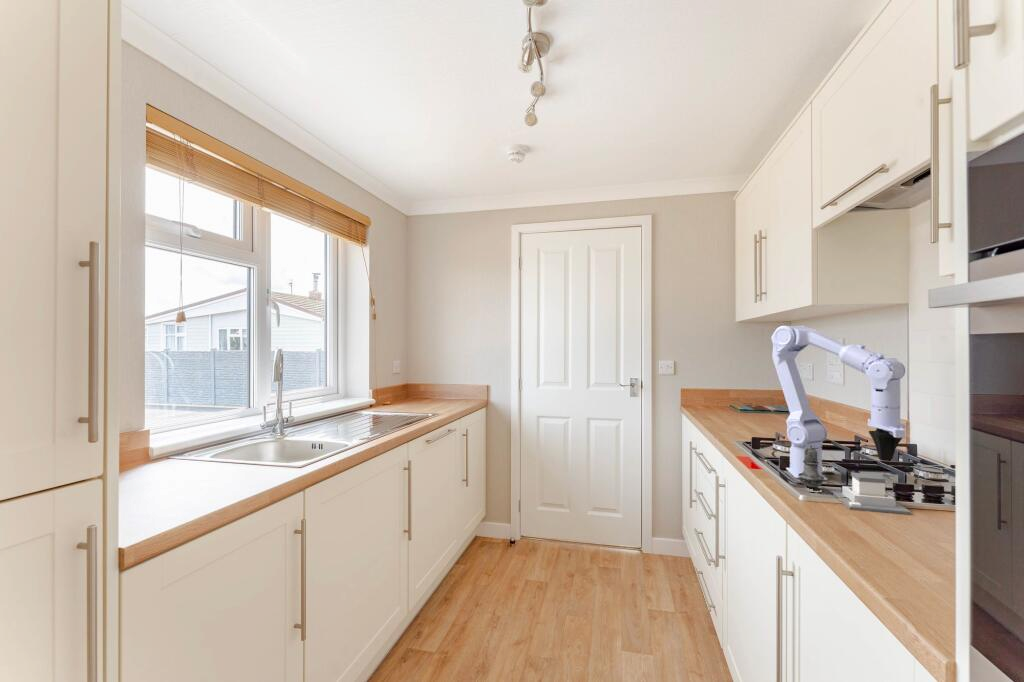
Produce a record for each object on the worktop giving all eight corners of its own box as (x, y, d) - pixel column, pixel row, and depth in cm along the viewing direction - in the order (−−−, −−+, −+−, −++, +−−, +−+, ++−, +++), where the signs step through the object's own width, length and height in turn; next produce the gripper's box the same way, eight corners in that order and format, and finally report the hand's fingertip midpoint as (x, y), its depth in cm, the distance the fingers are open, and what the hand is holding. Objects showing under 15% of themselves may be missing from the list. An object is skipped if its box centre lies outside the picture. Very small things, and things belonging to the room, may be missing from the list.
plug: (852, 496, 113) (852, 472, 113) (876, 498, 112) (876, 474, 112) (859, 502, 110) (859, 477, 109) (885, 504, 108) (885, 479, 108)
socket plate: (829, 492, 118) (829, 482, 118) (884, 496, 115) (884, 486, 115) (849, 509, 107) (849, 498, 107) (911, 514, 103) (911, 503, 103)
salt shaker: (829, 493, 117) (829, 447, 117) (806, 493, 117) (806, 447, 117) (815, 486, 123) (814, 442, 123) (793, 486, 123) (792, 442, 123)
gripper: (921, 412, 106) (921, 469, 106) (890, 402, 119) (890, 454, 120) (884, 410, 108) (884, 467, 108) (858, 401, 122) (858, 452, 122)
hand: (885, 460), depth 114 cm, fingers closed
